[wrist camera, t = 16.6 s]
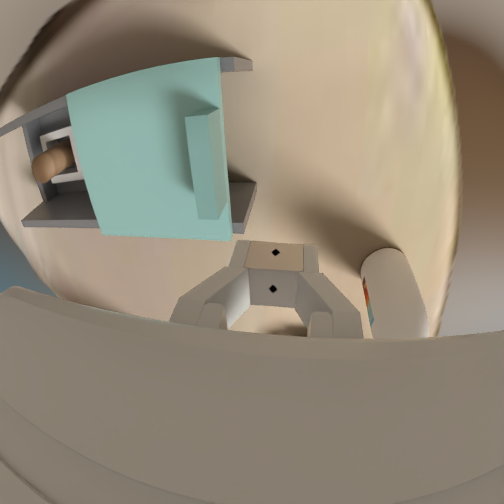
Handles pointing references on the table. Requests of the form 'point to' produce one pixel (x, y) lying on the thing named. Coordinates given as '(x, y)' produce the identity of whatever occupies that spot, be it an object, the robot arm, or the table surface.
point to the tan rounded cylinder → (53, 161)
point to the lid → (156, 151)
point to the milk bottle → (393, 296)
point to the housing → (72, 180)
